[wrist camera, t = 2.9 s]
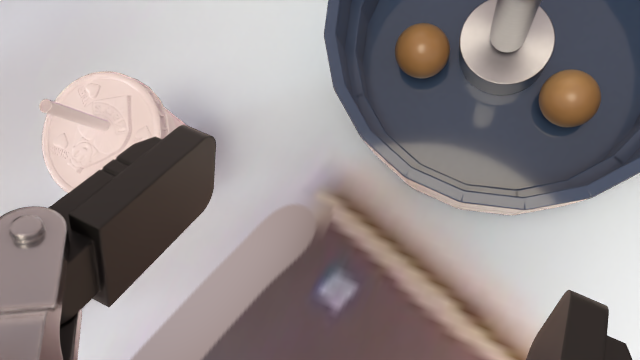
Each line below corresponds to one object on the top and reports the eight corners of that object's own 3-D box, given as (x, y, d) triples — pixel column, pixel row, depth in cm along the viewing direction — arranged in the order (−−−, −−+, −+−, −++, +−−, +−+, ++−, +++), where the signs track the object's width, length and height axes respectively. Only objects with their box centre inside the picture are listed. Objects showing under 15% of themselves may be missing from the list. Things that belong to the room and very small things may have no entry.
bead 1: (392, 40, 34) (387, 22, 32) (443, 28, 34) (443, 8, 31) (402, 89, 34) (398, 75, 31) (454, 77, 34) (455, 62, 31)
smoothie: (254, 153, 36) (139, 100, 23) (190, 233, 37) (40, 229, 23) (181, 92, 38) (33, 9, 24) (121, 170, 38) (-59, 131, 25)
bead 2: (529, 85, 33) (537, 69, 30) (585, 72, 32) (599, 55, 29) (541, 137, 32) (551, 127, 29) (598, 125, 32) (614, 113, 29)
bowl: (323, -45, 37) (297, -104, 30) (628, -129, 33) (670, -216, 27) (377, 240, 34) (361, 240, 28) (712, 179, 31) (780, 163, 25)
